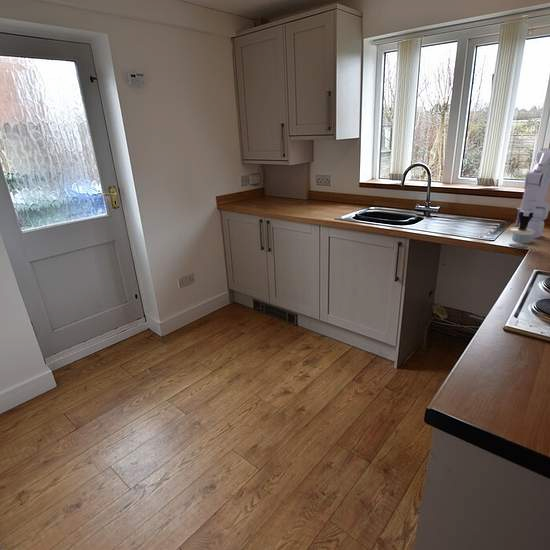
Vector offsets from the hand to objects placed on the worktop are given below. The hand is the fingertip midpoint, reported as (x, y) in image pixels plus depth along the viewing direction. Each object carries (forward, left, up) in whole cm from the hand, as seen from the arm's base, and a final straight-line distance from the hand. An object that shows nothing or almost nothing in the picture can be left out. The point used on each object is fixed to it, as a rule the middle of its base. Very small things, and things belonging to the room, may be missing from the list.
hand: (522, 228), depth 174 cm
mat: (0, 0, -9) cm, 9 cm away
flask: (-41, -18, -9) cm, 45 cm away
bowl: (-11, -4, -9) cm, 15 cm away
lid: (0, 0, -2) cm, 2 cm away
